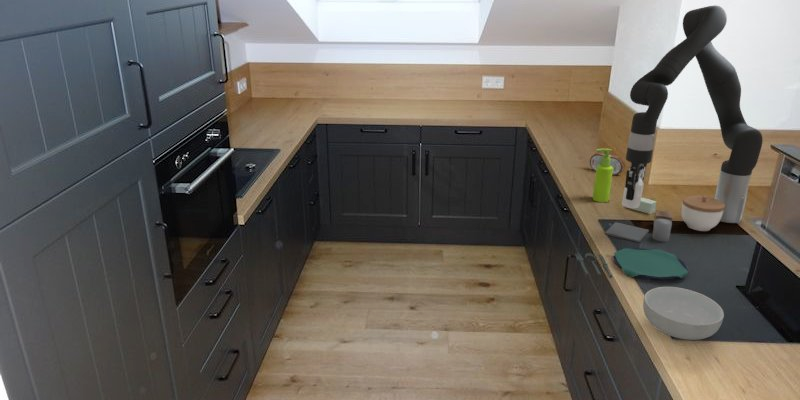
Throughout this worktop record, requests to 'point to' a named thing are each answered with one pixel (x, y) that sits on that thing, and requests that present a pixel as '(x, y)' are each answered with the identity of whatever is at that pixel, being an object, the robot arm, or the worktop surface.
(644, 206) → the sage bar
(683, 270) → the teal place setting
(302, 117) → the worktop surface
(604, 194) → the soap dispenser
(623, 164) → the tin
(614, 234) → the mat
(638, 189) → the white tall lump
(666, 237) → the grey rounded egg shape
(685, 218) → the lidded bowl
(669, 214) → the walnut cube
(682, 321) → the cereal bowl
